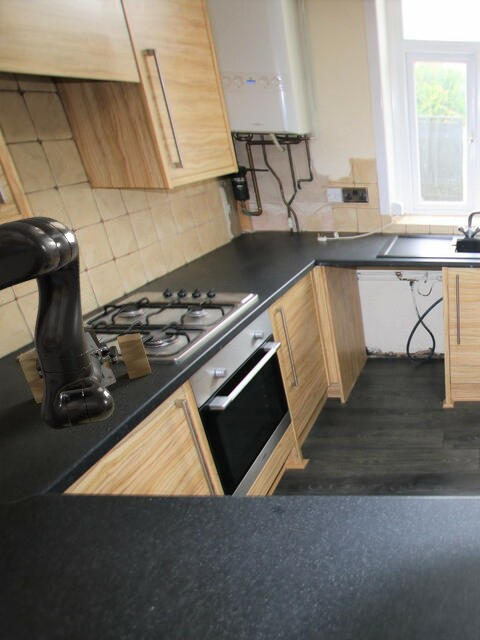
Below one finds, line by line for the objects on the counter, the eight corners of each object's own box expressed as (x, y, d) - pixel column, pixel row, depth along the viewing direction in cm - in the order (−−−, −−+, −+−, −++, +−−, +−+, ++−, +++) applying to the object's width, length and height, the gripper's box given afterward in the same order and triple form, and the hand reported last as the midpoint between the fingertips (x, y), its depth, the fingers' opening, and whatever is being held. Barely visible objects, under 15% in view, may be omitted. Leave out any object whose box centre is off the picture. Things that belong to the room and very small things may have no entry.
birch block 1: (36, 403, 119) (18, 360, 114) (38, 395, 122) (20, 353, 118) (63, 397, 122) (46, 355, 117) (63, 390, 125) (47, 349, 121)
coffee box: (118, 382, 129) (95, 329, 122) (92, 394, 124) (67, 339, 117) (97, 376, 132) (73, 324, 125) (71, 387, 127) (44, 333, 120)
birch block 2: (130, 382, 130) (117, 342, 125) (129, 375, 134) (117, 336, 129) (153, 377, 133) (141, 338, 128) (151, 371, 137) (139, 332, 132)
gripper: (115, 352, 106) (112, 330, 117) (27, 368, 97) (33, 342, 108) (124, 381, 109) (120, 357, 120) (40, 400, 100) (44, 371, 111)
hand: (79, 350), depth 114 cm, fingers open, 8 cm apart
